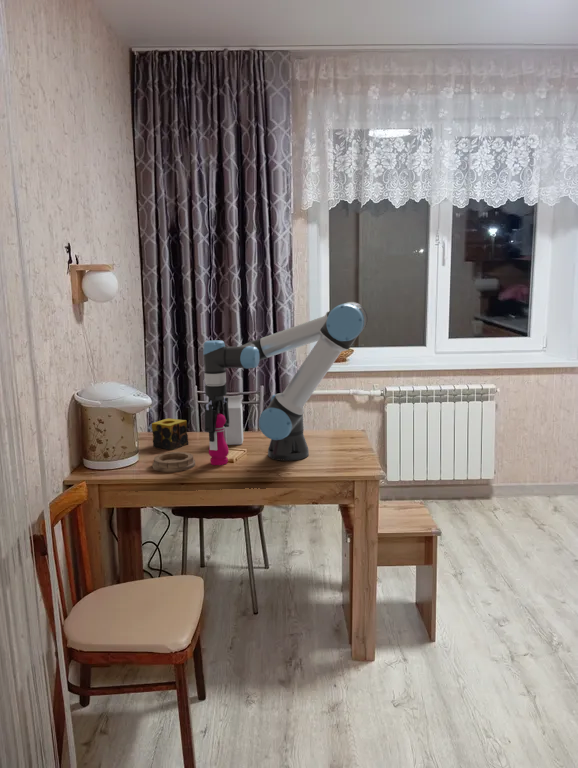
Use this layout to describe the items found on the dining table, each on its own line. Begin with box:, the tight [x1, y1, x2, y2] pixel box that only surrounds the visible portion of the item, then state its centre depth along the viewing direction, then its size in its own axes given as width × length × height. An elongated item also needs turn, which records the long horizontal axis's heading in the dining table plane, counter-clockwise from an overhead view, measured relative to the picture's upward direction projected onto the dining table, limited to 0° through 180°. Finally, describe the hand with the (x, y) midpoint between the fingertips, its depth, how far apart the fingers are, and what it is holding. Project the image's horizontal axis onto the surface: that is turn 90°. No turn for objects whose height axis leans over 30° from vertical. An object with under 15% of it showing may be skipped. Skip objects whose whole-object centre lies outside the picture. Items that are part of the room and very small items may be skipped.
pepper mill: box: [208, 413, 230, 466], centre depth 244 cm, size 7×7×20 cm
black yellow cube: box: [151, 418, 189, 451], centre depth 270 cm, size 10×10×10 cm
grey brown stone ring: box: [152, 451, 196, 473], centre depth 244 cm, size 15×15×3 cm
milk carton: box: [224, 395, 244, 446], centre depth 272 cm, size 7×7×19 cm
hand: (218, 447), depth 245 cm, fingers open, 6 cm apart
